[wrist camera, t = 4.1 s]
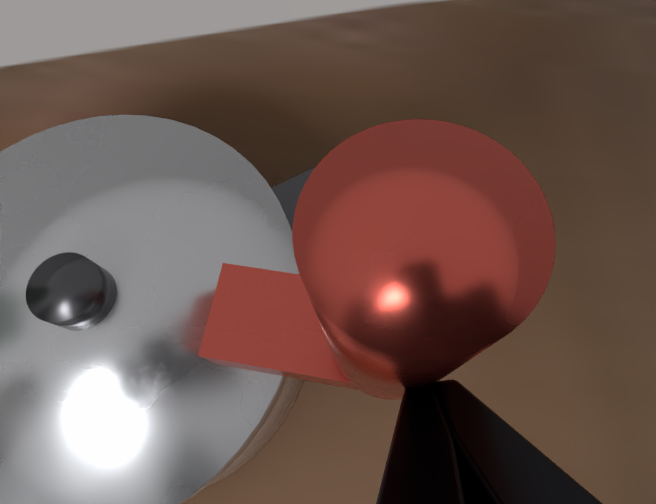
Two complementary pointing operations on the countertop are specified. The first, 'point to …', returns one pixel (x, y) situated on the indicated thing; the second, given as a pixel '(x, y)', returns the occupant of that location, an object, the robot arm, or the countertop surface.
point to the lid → (237, 291)
